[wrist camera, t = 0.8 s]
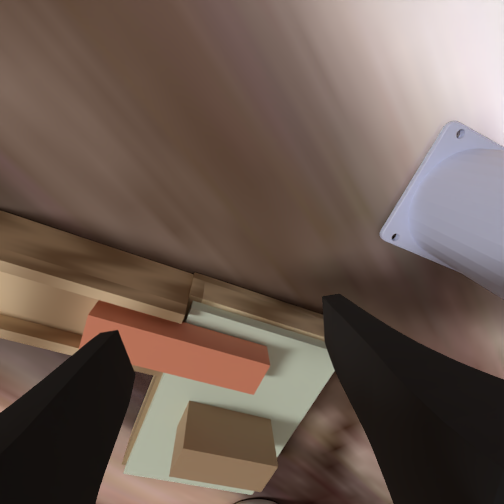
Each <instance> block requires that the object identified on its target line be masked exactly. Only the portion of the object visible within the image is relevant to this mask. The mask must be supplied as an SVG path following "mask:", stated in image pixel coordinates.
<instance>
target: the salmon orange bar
mask: <svg viewBox="0 0 504 504" xmlns="http://www.w3.org/2000/svg"><path fill="white" fill-rule="evenodd" d="M114 330H118V331H119V334H120V336H121V339H122V341H123V344H124V346H125V349H126V351H127V354H128V356H129V359H130V362H131V364H132V365H135V366H139V367H143V368H147V369H151V370H155V371H159V372H163V373H167V374H171V375H175V376H179V377H183V378H187V379H191V380H195V381H199V382H203V383H207V384H211V385H216V386H220V387H224V388H228V389H232V390H236V391H240V392H244V393H248V394H252V395H254V394H255V392H256V390H257V388H258V387H259V385H260V383H261V381H262V379H263V378H264V376H265V374H266V372H267V371H268V369H269V367H270V360H269V355H268V350H267V346H264V345H260V344H257V343H254V342H250V341H247V340H243V339H240V338H237V337H233V336H230V335H226V334H223V333H219V332H216V331H213V330H209V329H206V328H202V327H199V326H195V325H192V324H189V323H185V322H182V324H180V323H176V322H173V321H169V320H166V319H163V318H159V317H156V316H152V315H149V314H145V313H142V312H138V311H135V310H132V309H128V308H125V307H121V306H118V305H114V304H111V303H107V302H104V301H101V300H98V302H97V303H96V305H95V306H94V307H93V309H92V310H91V311H90V313H89V314H88V317H87V320H86V324H85V328H84V331H83V335H82V339H81V342H80V346H79V349H80V348H81V347H83V346H84V345H85V344H86V343H87V342H89V341H90V340H91V339H93V338H94V337H95V336H97V335H98V334H99V333H101V332H107V331H114Z"/></svg>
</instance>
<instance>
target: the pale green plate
mask: <svg viewBox="0 0 504 504" xmlns="http://www.w3.org/2000/svg"><path fill="white" fill-rule="evenodd" d="M184 322H185V323H189V324H192V325H195V326H199V327H202V328H206V329H209V330H213V331H216V332H219V333H223V334H226V335H230V336H233V337H237V338H240V339H243V340H247V341H250V342H254V343H257V344H260V345H264V346H267V350H268V355H269V360H270V367H269V369H268V371H267V372H266V374H265V376H264V378H263V379H262V381H261V383H260V385H259V387H258V388H257V390H256V392H255V394H254V395H252V394H248V393H244V392H240V391H236V390H232V389H228V388H224V387H220V386H216V385H211V384H207V383H203V382H199V381H195V380H191V379H187V378H183V377H179V376H175V375H171V374H167V373H163V375H162V377H161V380H160V382H159V385H158V387H157V390H156V392H155V394H154V397H153V399H152V402H151V404H150V407H149V409H148V412H147V414H146V417H145V419H144V421H143V424H142V426H141V429H140V431H139V434H138V436H137V439H136V441H135V443H134V446H133V448H132V451H131V453H130V456H129V458H128V461H127V463H126V467H125V470H124V473H123V474H129V475H135V476H141V477H147V478H153V479H159V480H165V481H171V482H177V483H183V484H189V485H195V486H201V487H207V488H213V489H219V490H225V491H231V492H237V493H243V494H249V495H252V494H253V492H254V491H257V492H261V491H262V490H263V488H264V487H265V485H266V484H267V482H268V481H269V479H270V478H271V476H272V475H273V474H274V472H275V471H276V469H277V468H278V463H277V456H278V455H279V453H280V452H281V450H282V449H283V447H284V446H285V444H286V443H287V441H288V440H289V438H290V437H291V435H292V434H293V432H294V431H295V429H296V428H297V426H298V425H299V423H300V422H301V420H302V419H303V417H304V416H305V414H306V413H307V411H308V410H309V408H310V407H311V405H312V404H313V402H314V401H315V399H316V398H317V396H318V395H319V393H320V392H321V390H322V389H323V387H324V386H325V384H326V383H327V381H328V380H329V378H330V377H331V375H332V374H333V372H334V371H335V370H334V368H333V365H332V362H331V359H330V357H329V354H328V351H327V348H326V345H325V341H322V340H318V339H315V338H312V337H309V336H306V335H302V334H299V333H296V332H293V331H290V330H286V329H283V328H280V327H277V326H273V325H270V324H267V323H264V322H261V321H257V320H254V319H251V318H248V317H245V316H241V315H238V314H235V313H232V312H229V311H225V310H222V309H219V308H216V307H212V306H209V305H206V304H203V303H200V302H196V301H193V302H192V304H191V306H190V309H189V311H188V314H187V316H186V319H185V321H184Z"/></svg>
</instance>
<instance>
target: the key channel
mask: <svg viewBox="0 0 504 504" xmlns="http://www.w3.org/2000/svg"><path fill="white" fill-rule="evenodd" d="M193 275H194V274H191V273H188V272H185V271H182V270H179V269H176V268H173V267H170V266H167V265H164V264H161V263H158V262H155V261H152V260H149V259H146V258H143V257H140V256H137V255H133V254H130V253H127V252H124V251H121V250H118V249H115V248H112V247H109V246H106V245H103V244H100V243H97V242H94V241H91V240H88V239H85V238H82V237H79V236H76V235H73V234H70V233H67V232H64V231H61V230H58V229H55V228H52V227H49V226H46V225H43V224H40V223H37V222H34V221H31V220H28V219H25V218H22V217H19V216H16V215H13V214H10V213H7V212H4V211H1V210H0V338H3V339H7V340H11V341H15V342H19V343H23V344H27V345H31V346H35V347H39V348H44V349H48V350H52V351H56V352H60V353H64V354H68V355H73V354H74V353H75V352H77V351H78V350H79V346H80V342H81V339H82V335H83V331H84V328H85V324H86V320H87V317H88V314H89V313H90V311H91V310H92V309H93V307H94V306H95V305H96V303H97V302H98V300H101V301H104V302H107V303H111V304H114V305H118V306H121V307H125V308H128V309H132V310H135V311H138V312H142V313H145V314H149V315H152V316H156V317H159V318H163V319H166V320H169V321H173V322H176V323H180V324H182V321H183V319H184V316H185V312H186V308H187V303H188V298H189V294H190V289H191V284H192V280H193ZM132 367H133V369H134V371H137V372H142V373H146V374H150V375H154V376H158V377H160V375H161V373H162V372H159V371H155V370H151V369H147V368H143V367H139V366H135V365H132Z"/></svg>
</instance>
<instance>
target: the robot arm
mask: <svg viewBox="0 0 504 504" xmlns="http://www.w3.org/2000/svg"><path fill="white" fill-rule="evenodd" d="M459 130H460V135H459V137H458V138H457V136H456V134H457V132H458V131H459ZM394 234H396V237H395V238H393V239H392V236H393V235H394ZM380 237H381V238H382V239H383V240H384V241H386V242H389V243H391V244H393V245H396V246H398V247H400V248H403V249H405V250H408V251H410V252H412V253H415V254H417V255H419V256H422V257H424V258H427V259H429V260H431V261H434V262H436V263H438V264H441V265H443V266H445V267H448V268H450V269H453V270H455V271H457V272H460V273H461V274H463V275H465V276H466V277H468V278H470V279H471V280H473V281H474V282H476V283H478V284H479V285H481V286H482V287H484V288H486V289H487V290H489V291H491V292H492V293H494V294H495V295H497V296H499V297H500V298H502V299H503V300H504V147H502V146H500V145H499V144H497V143H495V142H493V141H492V140H490V139H488V138H486V137H485V136H483V135H481V134H479V133H478V132H476V131H474V130H472V129H471V128H469V127H467V126H465V125H464V124H462V123H460V122H458V121H451V122H448V123H447V124H446V125H445V126H444V127H443V129H442V130H441V132H440V134H439V135H438V137H437V139H436V140H435V142H434V144H433V145H432V147H431V149H430V150H429V152H428V153H427V155H426V157H425V158H424V160H423V162H422V163H421V165H420V167H419V168H418V170H417V172H416V173H415V175H414V177H413V178H412V180H411V181H410V183H409V185H408V186H407V188H406V190H405V191H404V193H403V195H402V196H401V198H400V200H399V201H398V203H397V204H396V206H395V208H394V209H393V211H392V213H391V214H390V216H389V218H388V219H387V221H386V223H385V224H384V226H383V228H382V229H381V231H380ZM322 302H323V321H324V339H325V345H326V348H327V351H328V354H329V357H330V359H331V362H332V365H333V368H334V370H335V372H336V374H337V376H338V378H339V380H340V382H341V384H342V386H343V388H344V390H345V392H346V394H347V396H348V398H349V400H350V402H351V404H352V406H353V408H354V410H355V412H356V414H357V416H358V418H359V420H360V422H361V425H362V427H363V429H364V431H365V433H366V435H367V437H368V439H369V442H370V444H371V446H372V449H373V451H374V454H375V456H376V459H377V461H378V464H379V467H380V469H381V472H382V474H383V477H384V479H385V482H386V485H387V487H388V490H389V492H390V495H391V498H392V500H393V503H394V504H504V380H503V379H501V378H498V377H495V376H493V375H490V374H488V373H485V372H482V371H480V370H477V369H475V368H472V367H470V366H467V365H465V364H463V363H460V362H458V361H456V360H453V359H451V358H449V357H447V356H445V355H443V354H441V353H438V352H436V351H434V350H432V349H430V348H428V347H426V346H424V345H422V344H420V343H418V342H416V341H414V340H412V339H411V338H409V337H407V336H405V335H403V334H402V333H400V332H398V331H396V330H395V329H393V328H391V327H390V326H388V325H386V324H385V323H383V322H381V321H380V320H378V319H377V318H375V317H374V316H372V315H370V314H369V313H367V312H366V311H364V310H363V309H361V308H360V307H358V306H357V305H355V304H354V303H353V302H351V301H350V300H348V299H347V298H345V297H344V296H342V295H341V294H335V295H329V296H323V297H322ZM134 379H135V372H134V369H133V367H132V364H131V362H130V359H129V356H128V354H127V351H126V349H125V346H124V344H123V341H122V339H121V336H120V334H119V331H118V330H114V331H107V332H101V333H99V334H98V335H97V336H95V337H94V338H93V339H91V340H90V341H89V342H87V343H86V344H85V345H84V346H83V347H81V348H80V349H79V350H78V351H77V352H75V353H74V354H73V355H72V356H71V357H69V358H68V359H67V360H66V361H65V362H64V363H62V364H61V365H60V366H59V367H58V368H56V369H55V370H54V371H53V372H52V373H50V374H49V375H48V376H47V377H46V378H44V379H43V380H42V381H41V382H39V383H38V384H37V385H36V386H34V387H33V388H32V389H30V390H29V391H28V392H27V393H25V394H24V395H23V396H22V397H20V398H19V399H18V400H17V401H15V402H14V403H13V404H12V405H10V406H9V407H8V408H6V409H5V410H4V411H2V412H1V413H0V504H95V503H96V499H97V495H98V492H99V488H100V485H101V482H102V479H103V476H104V473H105V470H106V467H107V465H108V462H109V459H110V456H111V453H112V451H113V448H114V445H115V442H116V439H117V437H118V434H119V431H120V428H121V426H122V423H123V420H124V417H125V414H126V411H127V408H128V405H129V402H130V398H131V393H132V389H133V384H134Z"/></svg>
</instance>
